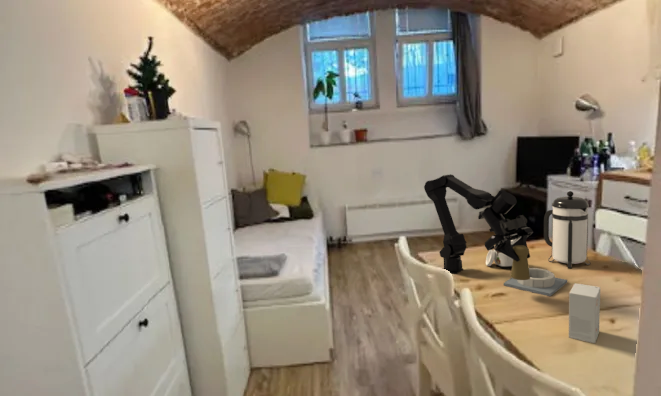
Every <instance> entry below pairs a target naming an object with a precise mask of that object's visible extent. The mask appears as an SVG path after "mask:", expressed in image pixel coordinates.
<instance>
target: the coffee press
mask: <svg viewBox="0 0 661 396" xmlns="http://www.w3.org/2000/svg"><path fill="white" fill-rule="evenodd" d="M566 195H567V196H560V197H557V198H555V199H553V202H552V203H551V207H552V209H549V210H547V211H546V212H545V214H544V215H543V216H544V217H543V239H544V241H545V244H546V245H548V246H549V247H551V255H550V257H548V263H553V262H554V261H556V262H558V263H563V264H567V269H568V270H569V269H570V270H571V269H573V265H574V264H575V265H576V264H582V263H584V264H586V265H587V266H590V265H591V261H590V260H589V258H588V257H587V252H588V236H589V211H588V209H589V206H590V203H588V201H587V200H586V199H585V198H583V197H579V196H574V192H573V191H571V190H570V191H567V192H566ZM550 217H551V218H552V234H551V240H550V233H549V231H550V229H549V228H550ZM551 258H553V259H552V260H550V259H551ZM586 261H588V262H589V263H587V262H586Z"/></svg>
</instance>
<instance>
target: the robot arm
mask: <svg viewBox="0 0 661 396" xmlns="http://www.w3.org/2000/svg"><path fill="white" fill-rule="evenodd" d="M423 188H424V192H425V194H426V195H427V198H428V199H430V200H431V201H432V202H433V204H434V208H435V211H436V212H437V216H438V219H439V222H440V226H441V228H442V231H443V234H444V236H443V240H442V241H443V243H442V244H443V247H442V249H441V250H440V251H438V252H439V256H440V257H441V258H443V269H446V270H448V271H450V272H451V273H450V274H455V275H456V274H458V273H460V272H461V271H464V268H463V260H462V256H464V255H465V252H466V249H467V243H468V242H467V241H466V239H465V236H464V234H463V233H459V232H458V231H457V229H456V226H455V223H454V221H453V217H452V214H451V211H450V208H449V205H448V202H447V200H446V196H447V191H448V190H447V189H448V188H449V189H450V190H452V191H453V192H455V193H457V194H458V195H459V196H461V197H463V198H464V199H465V200H466V202H467V204H468V205H469V206H470V207H471V208H473V210H474V209H475V210H481V209H484V210H481V211H479V212H478V216H477V217H478V220H483V219H484V220H485V222H486V223H487V224H488V226H489V227H490V228H489V229H488V230H489V232H490V233H492V232H493V234H494V235H491V236H490V237H489V238H488V239H487V240H486V241H485V242H484V247H485V249H486V250H487V252H489V251H490V250H494V246H495V245H496V247H497V248H496V249H495V250H496V251H499V252H501V253H503V254H505V255H507V256H508V257H510V258H512V259H513V260H515V261H517V262H518V261H520V259H519V257H518V255H517V254H516V252H515V251H514V249H513V248H512V246H511V240H513V241H514V244H513V246H515V245H524V246H527V247H528V244H527V243H528V242H527V239H528V237H529V236H530V237H531V235H532V234H533V233H534V230H533V229H532V228H531V227H528V226H527V223H528V219H527V217H526V216H525V215H524V214H522V215H521V214H519V215H517V216H516V217H515V219H509V218H506V217H504V216H503V215H507V213H508V212H509V211H510V210H511V209H512V208H513V207H514V206H515V205H517V202H518V200H517V198H516V196H514V195H513V194H511V193H510V192H507V191H506V190H505V189H500V190H499V191H498V192H497V194H496V195H495V196H494V195H492V194H491V193H490V192H489V191H486V190H483V189H478V188H474V187H472V186H470V185H469V184H467V183H465V182H464V181H462V180H461V179H459V178H457V177H456V176H455V175H454V174H444V175H442V176H439V177H437V178H434V179H431V180H427V181H426V182H425V184H424V186H423ZM530 258H531V255H530V253H529V254H528V255H527V259H530Z"/></svg>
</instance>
